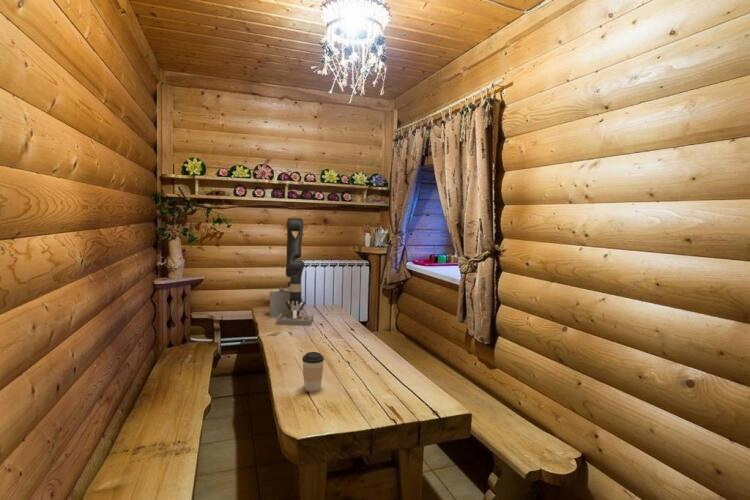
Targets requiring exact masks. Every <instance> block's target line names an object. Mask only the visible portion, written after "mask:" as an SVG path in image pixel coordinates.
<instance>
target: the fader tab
mask: <svg viewBox="0 0 750 500" xmlns="http://www.w3.org/2000/svg"><path fill="white" fill-rule="evenodd" d="M297 317H298V316H297V309H294V310H293V319H297Z"/></svg>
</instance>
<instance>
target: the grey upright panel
mask: <svg viewBox="0 0 750 500" xmlns="http://www.w3.org/2000/svg"><path fill="white" fill-rule="evenodd" d="M289 299H290V291H288V290H285V288H284V287H278V290H277V291H269V318H277V317H278V316H279V315H280V314H281V313H283V316H292V315H291V310H289V309H288V307H287V305H286V303H285V302H286V301H288V300H289ZM289 305H290V307H291V308H292V304H291V303H290V302H289Z"/></svg>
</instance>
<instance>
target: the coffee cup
mask: <svg viewBox="0 0 750 500" xmlns="http://www.w3.org/2000/svg"><path fill="white" fill-rule="evenodd" d="M324 360H325V358H324V356H323V355H322V353H321V352H318V351H310V352H306V353H305V354H304V355H303V356H302V360H301V361H302V374H303V384H304V388H303V389H304V391H306V392H310V393H311V392H317V391H318V392H319V391H320V390H321V389H322V380H323V371H324Z"/></svg>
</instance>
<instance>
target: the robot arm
mask: <svg viewBox="0 0 750 500" xmlns="http://www.w3.org/2000/svg"><path fill="white" fill-rule="evenodd" d="M293 232H297V234H296V237H295V236H294V234H293ZM303 233H304V220H303V218H301V217H288V218H287V221H286V236H287V237H286V238H287V239H286V265H285V276H286V277H287V278H290V281H288V282H287V291H290V299H289V300H288V301H286V302H285V303H286V305H287V307H288V309H289V310H291V315H292V316H293V310H294V309H297V316H300V311H302V310H303V308H304V307H305V305H306V303H307V302H306V301H305V300H303V298H302V289H303V288H302V275H303V271H304V269H305V262H304V261H303V259H302V260H299V259H301V257H302V242H303ZM289 302H290V303H291V304H292V308H291V307H290V305H289ZM300 304H301V305H300Z"/></svg>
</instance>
